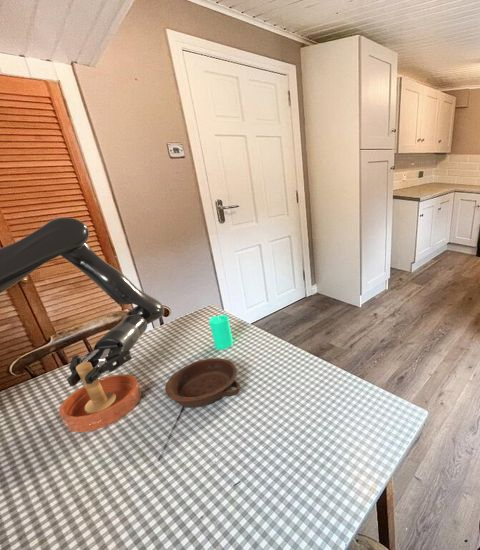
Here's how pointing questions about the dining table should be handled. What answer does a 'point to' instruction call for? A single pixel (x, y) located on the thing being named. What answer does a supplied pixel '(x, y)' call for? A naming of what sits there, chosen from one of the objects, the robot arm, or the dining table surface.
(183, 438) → the dining table surface
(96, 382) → the wooden pestle
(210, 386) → the dish
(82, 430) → the bowl
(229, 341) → the candle
